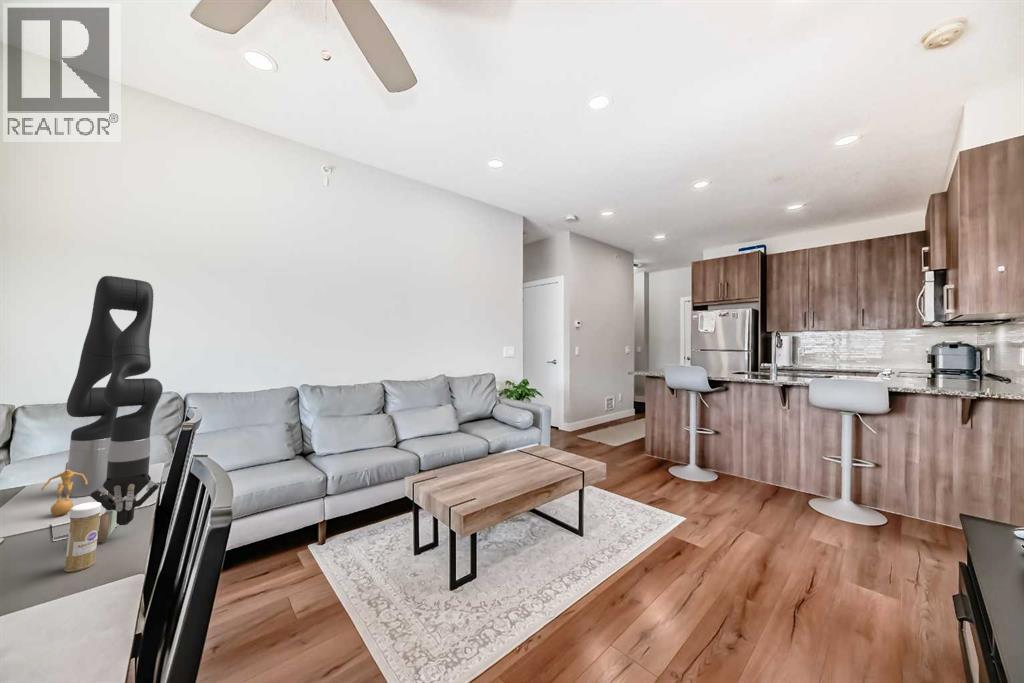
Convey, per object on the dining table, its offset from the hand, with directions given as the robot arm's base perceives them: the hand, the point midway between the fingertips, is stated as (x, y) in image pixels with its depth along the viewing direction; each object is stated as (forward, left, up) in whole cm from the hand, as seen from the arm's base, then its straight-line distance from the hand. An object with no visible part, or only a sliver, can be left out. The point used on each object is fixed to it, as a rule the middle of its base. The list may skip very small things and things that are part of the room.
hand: (124, 523), depth 94 cm
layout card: (-14, +2, -3) cm, 14 cm away
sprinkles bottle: (+5, -12, -3) cm, 14 cm away
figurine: (-28, +6, -3) cm, 28 cm away
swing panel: (-4, -1, -2) cm, 4 cm away
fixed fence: (-12, +6, -3) cm, 14 cm away
